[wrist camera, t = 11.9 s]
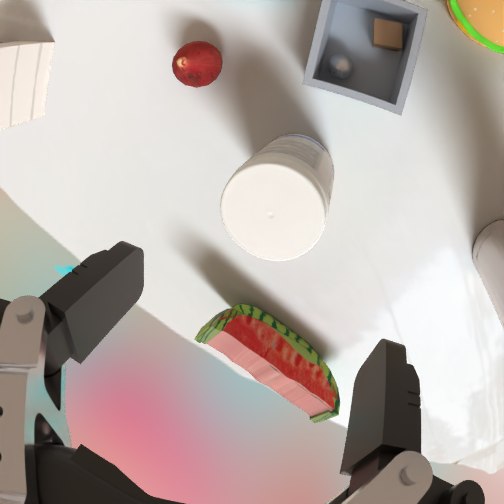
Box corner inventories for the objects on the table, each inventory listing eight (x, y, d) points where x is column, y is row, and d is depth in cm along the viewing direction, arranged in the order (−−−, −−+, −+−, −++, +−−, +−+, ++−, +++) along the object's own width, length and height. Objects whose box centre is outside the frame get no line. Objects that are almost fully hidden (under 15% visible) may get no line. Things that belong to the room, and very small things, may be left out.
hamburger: (521, 67, 22) (556, 67, 15) (441, 44, 25) (464, 34, 18) (512, -13, 16) (542, -27, 9) (430, -39, 19) (447, -65, 12)
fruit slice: (217, 301, 54) (192, 340, 46) (237, 281, 50) (213, 322, 42) (323, 382, 57) (314, 424, 49) (347, 369, 53) (341, 414, 45)
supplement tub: (246, 159, 40) (196, 197, 28) (305, 118, 35) (279, 135, 23) (289, 217, 42) (259, 278, 30) (350, 183, 37) (347, 234, 25)
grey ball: (355, 61, 29) (356, 58, 27) (350, 82, 31) (350, 82, 28) (332, 54, 30) (330, 51, 27) (326, 75, 31) (324, 74, 29)
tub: (414, 22, 25) (427, 9, 19) (392, 110, 31) (401, 115, 26) (331, -3, 26) (326, -21, 21) (310, 84, 33) (302, 83, 27)
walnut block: (398, 28, 25) (402, 23, 23) (397, 51, 27) (401, 48, 24) (372, 23, 26) (374, 18, 24) (372, 46, 28) (373, 43, 25)
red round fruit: (235, 81, 35) (208, 81, 29) (194, 90, 37) (161, 94, 30) (227, 39, 32) (199, 31, 26) (187, 50, 34) (153, 47, 28)
